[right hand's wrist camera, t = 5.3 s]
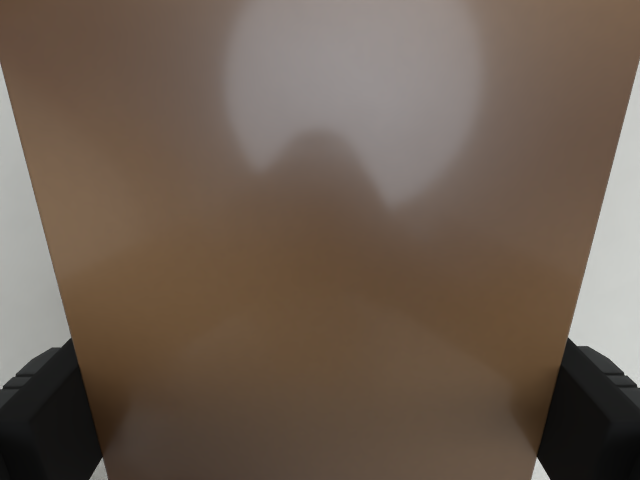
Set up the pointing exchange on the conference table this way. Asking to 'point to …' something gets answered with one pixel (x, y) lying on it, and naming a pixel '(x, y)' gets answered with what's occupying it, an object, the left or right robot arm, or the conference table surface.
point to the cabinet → (319, 222)
